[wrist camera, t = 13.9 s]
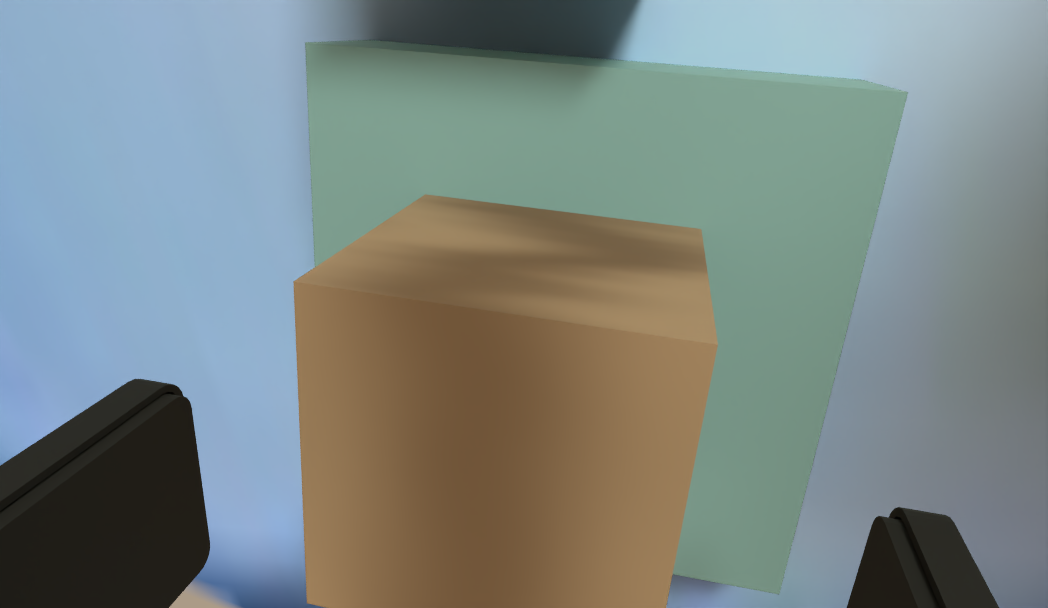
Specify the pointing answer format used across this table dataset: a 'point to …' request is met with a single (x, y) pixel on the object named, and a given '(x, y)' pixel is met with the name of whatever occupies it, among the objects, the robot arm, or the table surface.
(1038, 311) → the table surface
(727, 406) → the base block
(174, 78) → the table surface
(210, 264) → the table surface
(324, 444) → the walnut cube
